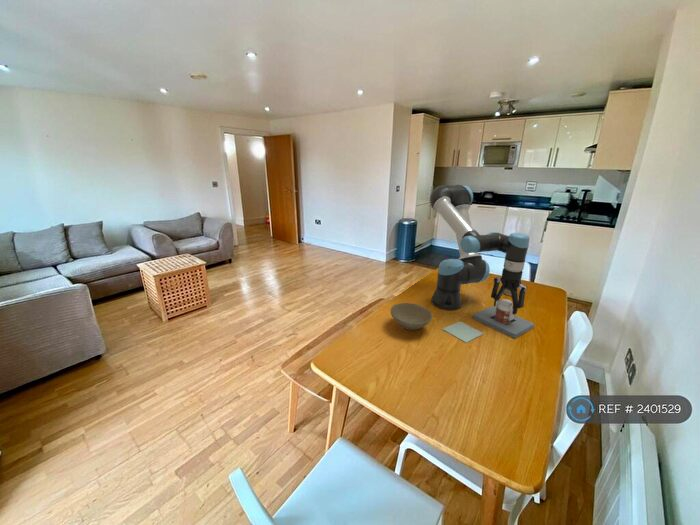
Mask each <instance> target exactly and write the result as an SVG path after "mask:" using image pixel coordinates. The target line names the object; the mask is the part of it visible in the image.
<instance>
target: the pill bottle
mask: <svg viewBox="0 0 700 525" xmlns="http://www.w3.org/2000/svg"><path fill="white" fill-rule="evenodd" d="M500 300H501V301H500V304H499V305H498V307H497V312H496V317H495V319H494V320H496V321H498V322H500V323H503V324H505V325H508V324H510V323H511V322H510V321H509V315H510V310H511V307H512V306H513V302H512V301H511V300H509V299H507V298H506V299H505V298H502V299H500Z"/></svg>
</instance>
